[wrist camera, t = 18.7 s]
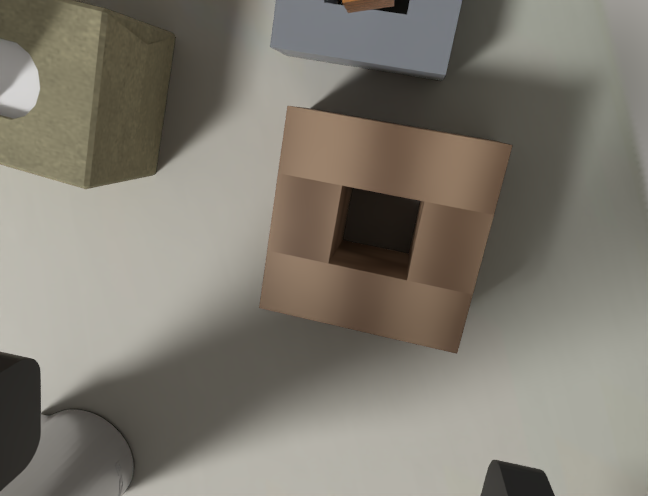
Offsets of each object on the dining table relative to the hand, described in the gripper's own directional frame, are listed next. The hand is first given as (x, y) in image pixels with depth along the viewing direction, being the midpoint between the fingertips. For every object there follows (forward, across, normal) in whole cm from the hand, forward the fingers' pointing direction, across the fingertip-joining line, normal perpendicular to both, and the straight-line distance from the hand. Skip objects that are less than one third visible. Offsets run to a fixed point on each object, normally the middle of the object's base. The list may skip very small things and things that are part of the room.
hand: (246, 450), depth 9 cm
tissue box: (+27, +24, -6) cm, 37 cm away
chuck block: (+26, -1, 0) cm, 26 cm away
